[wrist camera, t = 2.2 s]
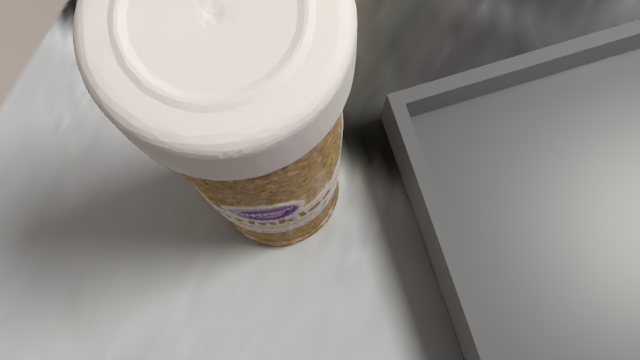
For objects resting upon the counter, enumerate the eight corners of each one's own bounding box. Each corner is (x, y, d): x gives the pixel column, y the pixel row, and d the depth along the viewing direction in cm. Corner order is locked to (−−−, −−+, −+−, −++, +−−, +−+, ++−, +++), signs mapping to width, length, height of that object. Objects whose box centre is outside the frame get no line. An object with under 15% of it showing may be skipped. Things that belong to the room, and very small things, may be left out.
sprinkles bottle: (243, 264, 21) (106, 199, 8) (205, 152, 22) (29, -66, 9) (358, 222, 22) (405, 93, 8) (316, 113, 23) (301, -154, 9)
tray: (500, 462, 20) (525, 484, 17) (380, 117, 22) (387, 94, 20) (845, 346, 20) (915, 352, 18) (688, 25, 23) (731, -8, 21)
